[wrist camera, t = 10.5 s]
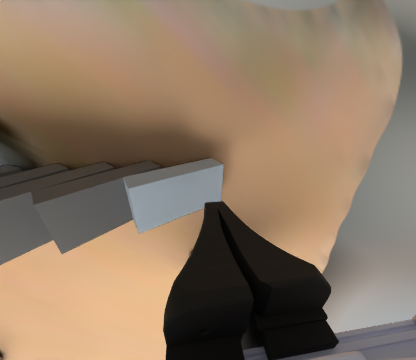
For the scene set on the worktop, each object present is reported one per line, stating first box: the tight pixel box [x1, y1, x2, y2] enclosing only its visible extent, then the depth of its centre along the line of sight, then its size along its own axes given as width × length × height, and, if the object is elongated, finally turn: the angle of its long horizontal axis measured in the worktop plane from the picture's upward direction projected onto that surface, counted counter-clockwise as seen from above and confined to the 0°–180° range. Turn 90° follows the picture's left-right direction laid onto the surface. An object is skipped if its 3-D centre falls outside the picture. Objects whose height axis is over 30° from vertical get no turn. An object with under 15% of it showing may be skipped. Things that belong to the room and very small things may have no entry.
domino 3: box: [31, 160, 160, 254], centre depth 13 cm, size 2×4×8 cm
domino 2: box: [0, 162, 114, 265], centre depth 13 cm, size 2×4×8 cm
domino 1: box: [0, 163, 69, 189], centre depth 12 cm, size 2×4×8 cm
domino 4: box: [123, 158, 224, 234], centre depth 14 cm, size 2×4×8 cm
